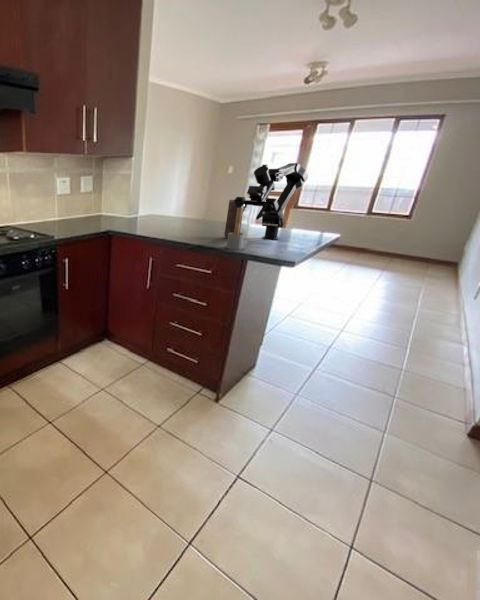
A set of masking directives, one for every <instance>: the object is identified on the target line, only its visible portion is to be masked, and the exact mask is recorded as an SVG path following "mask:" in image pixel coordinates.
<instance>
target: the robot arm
mask: <svg viewBox="0 0 480 600" xmlns="http://www.w3.org/2000/svg"><path fill="white" fill-rule="evenodd" d="M253 176H254V178H255V181H256V183H257V184H258V185H249V186H248V189H247V191H246V194H248V195H249V196H248V198H249V199H246V197H245V196H236V197H235V198H234V199H233V200H234V201H235V204H236V206H237V208H242V213H244V212H245V211H246V208H247V207H248V206H254V207H261V209H260V210H259V212H258V213H257V215H256V217H255V219H256V220H259V219H261V225H262V227H265V232H264V235H263V237H262V239H263V240H274V241H278V240H279V236H278V235H279V231H280V230H279V229H281V228H282V229H283V228H284V226H285V219H284V213H283V211H284V210H285V208H286V206H287V205H288V203H289V201H291V198H292V196H293V195H294V193H295V192H296V190H297V189H299V188H301V187H303V185H304V184H305V182H307V180H308V177H309V174H308V172H307V170H306V169H305V168H304V167H302V166H301V163H297V162H292V163H291V162H290V163H287V164H286V165H283V166H280V167H278V168H269V166H268V164H262V165H261V166H259V167H257V168H256V169H255V170H253ZM284 177H285V179H286V180H285V181H286V184H285V187H284V189H283V190H282V192H281V193H280V195H279V196H278V199H277V198H272V197H269V195H270V193H271V192H272V191H275V188H276V187H275V183H278V182H281V181H282V180H284Z"/></svg>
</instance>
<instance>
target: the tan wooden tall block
mask: <svg viewBox="0 0 480 600" xmlns="http://www.w3.org/2000/svg"><path fill="white" fill-rule="evenodd" d="M234 200H235V199H229V201H228V208H227V213H226V221H225V228H224V233H223V235H224V237H225V238H226V239H228V233H232V232H234V231H235V223H236V216H237V209H238V208H237V206H236V204H235V201H234ZM243 213H244V212H243ZM243 213H242V215H241V222H240V230H239V233H241V229H242V228H241V227H242V221H243V220H242V219H243Z"/></svg>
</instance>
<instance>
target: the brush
mask: <svg viewBox="0 0 480 600" xmlns="http://www.w3.org/2000/svg"><path fill="white" fill-rule="evenodd" d="M241 215H242V208H238V209H237V216H236V223H235V231H234V235H239V230H240V231H241V229H240V222H241V223H242V221H241ZM242 216H243V215H242Z"/></svg>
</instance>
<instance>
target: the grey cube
mask: <svg viewBox="0 0 480 600" xmlns="http://www.w3.org/2000/svg"><path fill="white" fill-rule="evenodd" d="M245 235H246V234H245V233H243V232H240V233H239V235H234V232H232V233H228V238H227V241H226V249H229V250H234V251H235V250H243V249H244V242H245Z"/></svg>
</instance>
